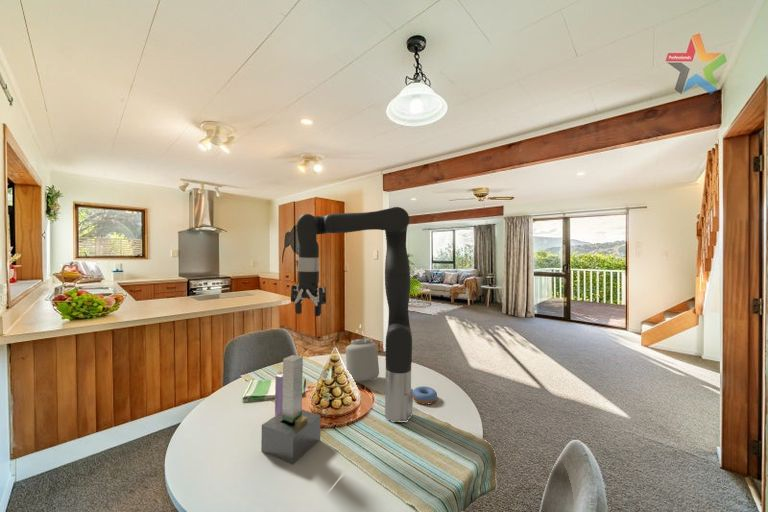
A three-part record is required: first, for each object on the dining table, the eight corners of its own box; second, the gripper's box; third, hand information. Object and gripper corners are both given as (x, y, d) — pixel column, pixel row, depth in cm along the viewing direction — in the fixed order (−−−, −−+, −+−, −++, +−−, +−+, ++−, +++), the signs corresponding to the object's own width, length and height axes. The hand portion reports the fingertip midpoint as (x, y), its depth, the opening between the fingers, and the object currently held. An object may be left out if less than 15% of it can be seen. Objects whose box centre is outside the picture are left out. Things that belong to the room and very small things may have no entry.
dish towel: (303, 398, 119) (304, 391, 119) (241, 404, 114) (241, 397, 114) (304, 380, 137) (304, 374, 137) (250, 384, 131) (250, 378, 131)
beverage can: (286, 420, 102) (287, 377, 102) (271, 418, 104) (272, 375, 104) (295, 411, 108) (296, 370, 108) (280, 409, 110) (281, 369, 109)
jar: (338, 374, 142) (339, 323, 142) (366, 369, 150) (366, 320, 149) (355, 390, 126) (356, 332, 126) (384, 383, 133) (385, 328, 133)
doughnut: (441, 403, 115) (440, 391, 116) (418, 408, 113) (417, 395, 113) (431, 394, 125) (430, 383, 125) (409, 398, 122) (408, 387, 123)
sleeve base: (320, 440, 92) (320, 411, 91) (292, 465, 81) (293, 432, 81) (290, 430, 97) (291, 402, 97) (261, 452, 86) (261, 420, 86)
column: (301, 416, 90) (302, 357, 90) (292, 422, 86) (293, 361, 86) (291, 412, 91) (292, 354, 91) (282, 419, 88) (283, 358, 88)
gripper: (330, 270, 107) (330, 315, 107) (300, 269, 113) (299, 311, 113) (317, 271, 100) (317, 319, 100) (286, 269, 106) (285, 314, 106)
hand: (307, 314), depth 106 cm, fingers open, 8 cm apart
